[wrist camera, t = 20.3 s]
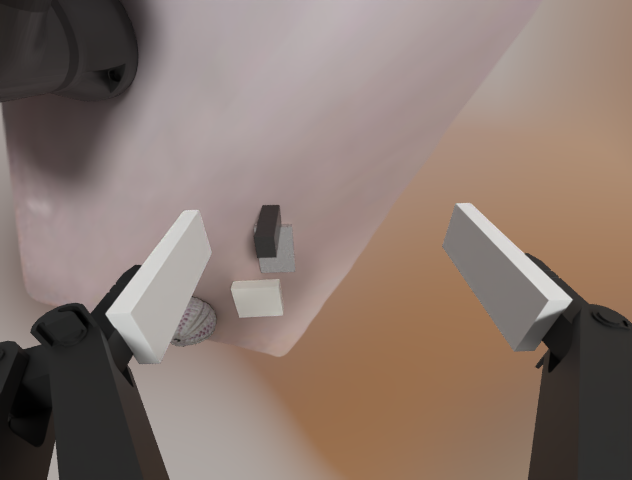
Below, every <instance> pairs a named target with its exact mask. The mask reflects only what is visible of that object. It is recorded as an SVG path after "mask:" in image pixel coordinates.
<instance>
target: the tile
mask: <svg viewBox="0 0 632 480" xmlns="http://www.w3.org/2000/svg"><path fill="white" fill-rule="evenodd" d="M231 292H232V295H233V298H234V302H235V305H236V308H237V312H238V315H239V318H242V317H263V316H283V312H284V304H283V298H282V292H281V285H280V279H269V280H249V281H233V284H232V287H231Z"/></svg>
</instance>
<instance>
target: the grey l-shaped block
mask: <svg viewBox="0 0 632 480" xmlns="http://www.w3.org/2000/svg"><path fill="white" fill-rule="evenodd" d="M254 232H255V235H254V241H255V247H256V252H257V258H259V262H260V268H261V273H266V272H295V257H294V243H293V229H292V224H281V215H280V205H263V206H262V210H261V213H260V217H259V221H258V224H257V225H254Z"/></svg>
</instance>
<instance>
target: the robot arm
mask: <svg viewBox="0 0 632 480" xmlns="http://www.w3.org/2000/svg"><path fill="white" fill-rule="evenodd" d="M137 64H138V49H137V42H136V37H135V34H134V30H133V27H132V24H131V22H130V20H129V17H128V15H127V13H126V11H125V9H124V7H123V6H122V4H121V2H120V1H119V0H0V102H5V101H10V100H15V99H20V98H25V97H30V96H36V95H41V94H46V93H52V94H56V95H60V96H64V97H68V98H72V99H76V100H82V101H98V100H103V99H107V98H111V97H114V96H117V95H119V94H121V93H122V92H123V91H125V90H126V89H127V88H128V87H129V85H130V84H131V82H132V81H133V79H134V76H135V73H136V70H137ZM442 247H443V248H444V250H445V251H446V253H447V254H448V256H449V257H450V258H451V260H452V261H453V263H454V264H455V266H456V267H457V269H458V270H459V272H460V273H461V275H462V276H463V277H464V279H465V281H466V282H467V283H468V285H469V286H470V288H471V289H472V291H473V292H474V294H475V295H476V296H477V298H478V299H479V301H480V302H481V304H482V305H483V307H484V308H485V310H486V311H487V313H488V314H489V316H490V317H491V318H492V320H493V321H494V323H495V324H496V326H497V327H498V329H499V330H500V332H501V333H502V335H503V336H504V337H505V339H506V340H507V342H508V343H509V345H510V346H511V348H512V349H513V350H514V351H534V350H535V349H536V348H537V347H538V345H539V344H540V343H541V341H543V342H544V343H545V345H546V346H547V347H548V348H549V349H548V351H547V352H546V353H545V354H544V356H543V357H542V358H541V359H540V361H539V362H538V363H537V365H536V368H540V367H541V366H542V365H543V370H542V379H541V386H540V394H539V400H538V408H537V415H536V423H535V431H534V438H533V446H532V453H531V461H530V468H529V476H528V480H632V323H631V322H630V321H628V320H627V319H626V318H625V317H624V316H622V315H621V314H619V313H618V312H616V311H613V310H611V309H609V308H607V307H604V306H600V305H594V304H588V303H587V302H586V301H585V300H584V299H583V298H582V297H581V296H579V295H578V294H577V293H576V292H575V291H574V290H573V289H572V288H571V287H570V286H568V285H567V284H566V283H565V282H564V281H563V280H562V279H561V278H558V276H557V275H556V274H555V273H554V272H553V271H551V269H550V268H549V267H547V266H546V265H545V264H544V263H543V262H542V261H541V260H539V259H537V258H535V257H533V256H532V255H530V254H528V253H523V252H522V251H521V250H520V249H519V248H518V247H516V246H515V245H514V244H513V243H512V242H511V241H510V240H509V239H508V238H507V237H506V236H505V235H504V234H503V233H502V232H501V231H500V230H498V229H497V228H496V227H495V226H494V225H493V224H492V223H491V222H490V221H489V220H488V219H487V218H486V217H485V216H484V215H482V214H481V213H480V212H479V211H478V210H477V209H476V208H475V207H474V206H473V205H472V204H471V203H456V204H455V207H454V210H453V213H452V217H451V220H450V223H449V227H448V230H447V233H446V236H445V239H444V243H443V246H442ZM211 254H212V252H211V249H210V245H209V242H208V238H207V235H206V232H205V228H204V225H203V221H202V218H201V214H200V211H199V210H184V211H183V212H182V214H181V215H180V216H179V218H178V219H177V220H176V222H175V223H174V224H173V225H172V227H171V228H170V229H169V231H168V232H167V233H166V235H165V236H164V237H163V239H162V240H161V241H160V243H159V244H158V245H157V247H156V248H155V249H154V250H153V252H152V253H151V254H150V256H149V257H148V258H147V260H146V261H145V262H144V264H143V265H134V266H133V267H132V268H130V269H129V270H127V271H126V272H125V273H123V275H122V276H121V277H120V278H119V279H118V281H117V282H116V285H114V286H113V287H112V288H111V289H110V290H109V291H110V292H109V293H107V294H106V295H105V297H104V298H103V299H102V300H101V302H100V303H99V304H98V305H97V306H96V308H95V309H94V310H93V311H92V313H91V314H90V313H89V312H88V310H87V309H86V308H85V306H84V305H83V304H79V303H71V304H66V305H62V306H59V307H57V308H55V309H53V310H51V311H49V312H47V313H46V314H44V315H43V316H42V317H40V318H39V319H38V320H37V321H36V322H35V324H34V325H33V326H32V329H31V332H30V333H31V334H32V335H33V336H34V337H35V338H36V339H37V340H38V341H39V342H40V343H41V344H42V345H38V346H34V347H31V348H27V349H22V348H21V347H20V346H19V345H18V344H17V343H16V342H13V341H5V342H0V480H47V477H48V472H49V467H50V463H51V458H52V453H53V449H54V444H55V440H56V449H57V460H58V472H59V480H170V479H169V476H168V474H167V471H166V468H165V465H164V462H163V459H162V457H161V454H160V451H159V448H158V445H157V442H156V440H155V437H154V434H153V431H152V428H151V425H150V423H149V420H148V417H147V414H146V411H145V408H144V406H143V403H142V400H141V397H140V394H139V392H138V389H137V386H136V383H135V380H134V378H133V375H132V372H131V369H130V368H129V367H128V363H129V361H130V359H131V358H132V356H133V355H134V357H135V358H136V360H137V361H138V363H139V364H154V363H155V364H156V363H161V361H162V359H163V357H164V355H165V352H166V350H167V348H168V346H169V344H170V342H171V339H172V337H173V335H174V333H175V331H176V329H177V327H178V324H179V322H180V320H181V318H182V316H183V314H184V312H185V309H186V307H187V305H188V303H189V301H190V299H191V297H192V294H193V292H194V290H195V288H196V286H197V284H198V281H199V279H200V277H201V275H202V273H203V271H204V269H205V266H206V264H207V262H208V260H209V258H210V256H211Z"/></svg>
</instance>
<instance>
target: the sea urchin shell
mask: <svg viewBox="0 0 632 480" xmlns="http://www.w3.org/2000/svg"><path fill="white" fill-rule="evenodd" d="M216 320H217V319H216V315H215V311H213V309H212V308H211V307H210V305H209V304H206V302H202V301H201V300H200V299H197V298H193V297H191V299H190V301H189V303H188V305H187V307H186V309H185V312H184V314H183V316H182V318H181V320H180V322H179V324H178V327H177V329H176V331H175V333H174V335H173V337H172V339H171V342H170V343H171V344H172V345H175V346H183V347H184V346H186V345H193V344H197V343H200V342H201V341H204V340H205V339H207V338H208V337H210V336H211V334H212V333H213V331H214V330H215V325H216Z"/></svg>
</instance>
